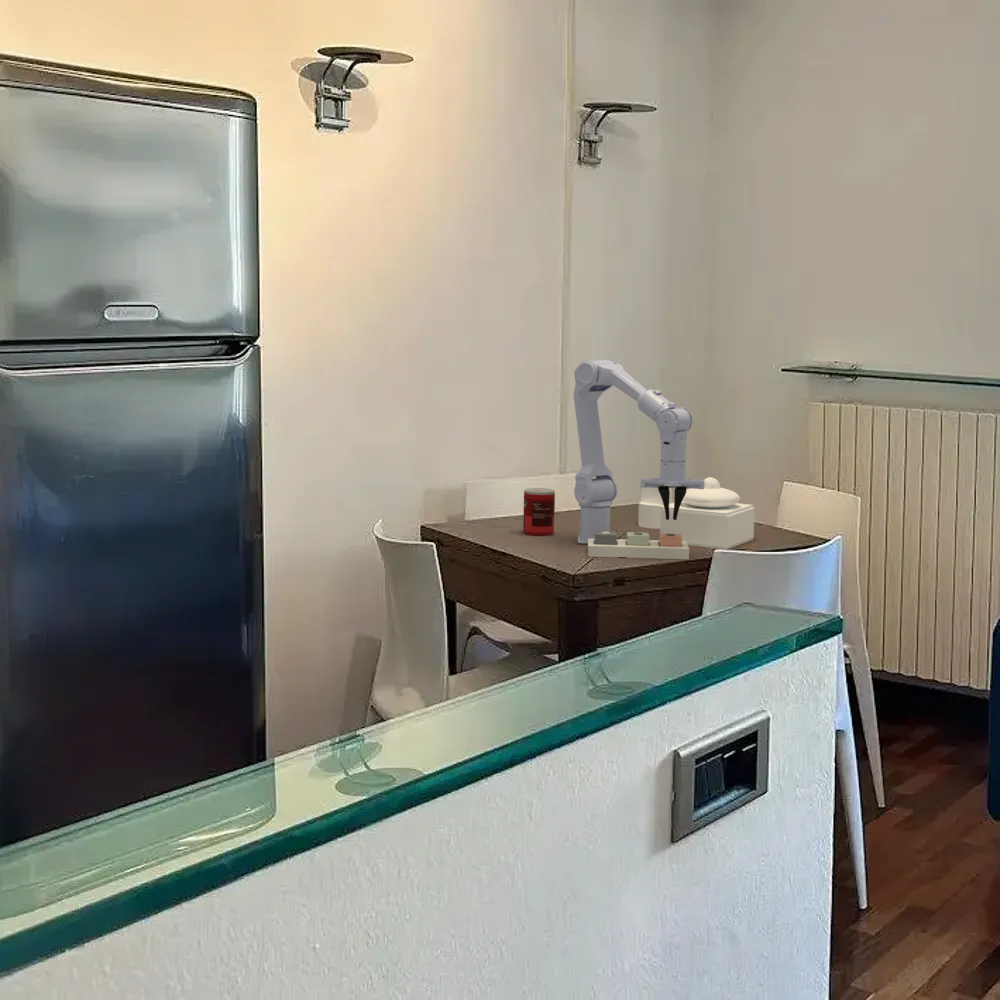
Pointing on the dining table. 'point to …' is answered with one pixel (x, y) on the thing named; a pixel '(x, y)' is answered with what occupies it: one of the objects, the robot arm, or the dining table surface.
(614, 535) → the key charcoal
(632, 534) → the key sage
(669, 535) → the key terracotta
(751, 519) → the white block with dome
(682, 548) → the keypad housing
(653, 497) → the cylinder with rectangular tab
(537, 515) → the canned food
